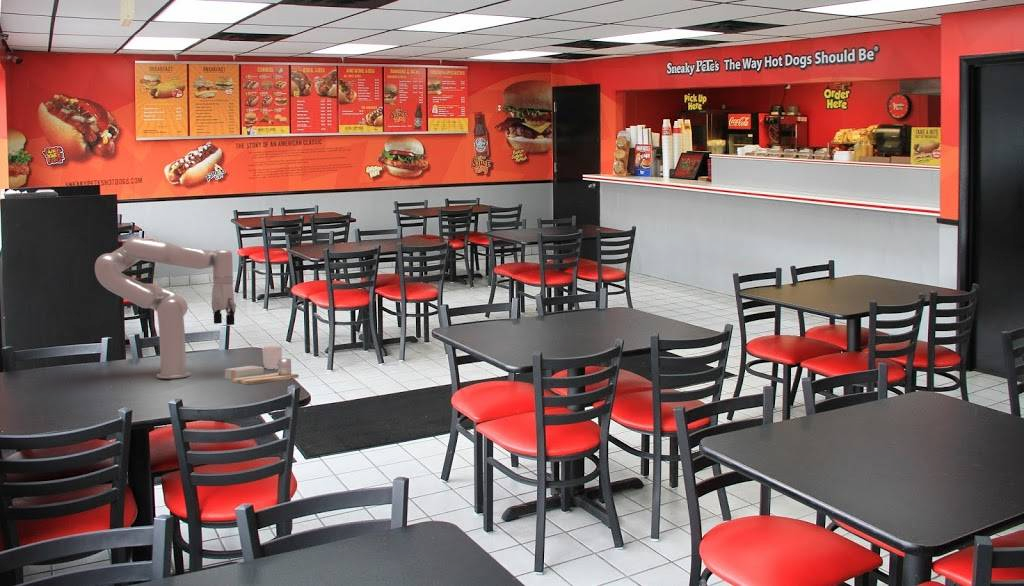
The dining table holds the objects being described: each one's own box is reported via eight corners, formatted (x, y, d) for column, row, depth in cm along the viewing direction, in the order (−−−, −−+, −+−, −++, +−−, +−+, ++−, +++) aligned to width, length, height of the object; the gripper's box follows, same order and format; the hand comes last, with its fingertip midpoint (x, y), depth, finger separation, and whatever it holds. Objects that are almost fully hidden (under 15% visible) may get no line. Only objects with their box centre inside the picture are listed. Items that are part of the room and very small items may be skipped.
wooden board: (232, 381, 373) (231, 378, 373) (280, 375, 389) (280, 372, 389) (250, 384, 365) (250, 381, 365) (298, 377, 381) (298, 374, 381)
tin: (275, 374, 381) (275, 359, 381) (286, 373, 385) (285, 358, 385) (283, 375, 378) (282, 360, 378) (294, 374, 382) (293, 359, 381)
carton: (224, 379, 381) (224, 369, 381) (251, 375, 390) (251, 365, 390) (237, 381, 376) (237, 370, 375) (263, 377, 385) (263, 367, 384)
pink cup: (264, 370, 404) (263, 346, 404) (283, 369, 405) (283, 345, 405) (261, 372, 397) (260, 348, 396) (281, 372, 397) (280, 347, 397)
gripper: (203, 280, 391) (204, 323, 392) (225, 282, 379) (226, 326, 380) (220, 280, 397) (221, 322, 398) (242, 281, 385) (243, 324, 386)
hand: (224, 324), depth 389 cm, fingers open, 9 cm apart
